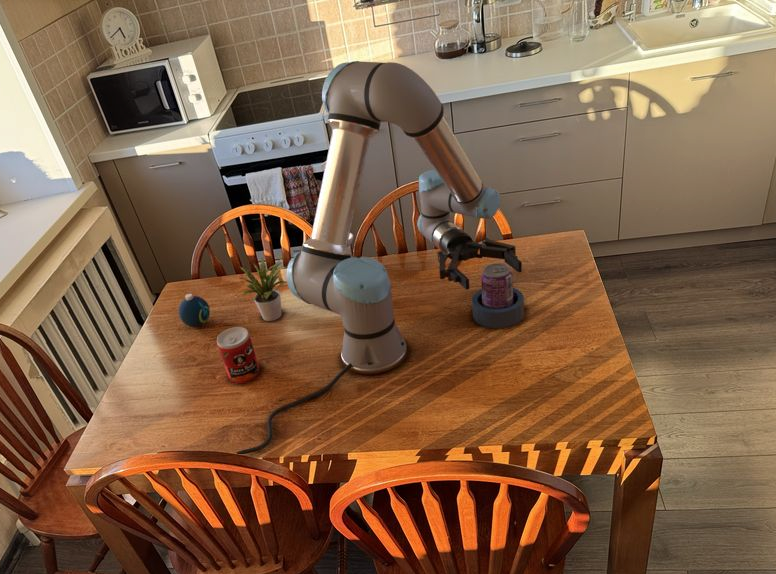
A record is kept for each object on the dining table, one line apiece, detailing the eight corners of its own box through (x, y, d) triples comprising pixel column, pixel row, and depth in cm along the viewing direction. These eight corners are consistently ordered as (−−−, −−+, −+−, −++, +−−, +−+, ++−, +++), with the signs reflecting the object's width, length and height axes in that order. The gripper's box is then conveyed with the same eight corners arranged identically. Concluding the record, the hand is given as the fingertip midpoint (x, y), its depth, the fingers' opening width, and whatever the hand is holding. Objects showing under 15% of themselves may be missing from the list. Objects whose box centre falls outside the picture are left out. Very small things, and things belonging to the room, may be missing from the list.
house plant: (308, 320, 169) (295, 265, 160) (259, 338, 166) (243, 283, 157) (290, 297, 180) (278, 244, 171) (244, 314, 178) (228, 261, 168)
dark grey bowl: (500, 334, 149) (500, 318, 146) (462, 316, 157) (461, 301, 155) (534, 311, 154) (534, 295, 151) (495, 295, 162) (495, 280, 160)
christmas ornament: (192, 336, 173) (180, 305, 167) (178, 325, 179) (167, 295, 173) (219, 322, 176) (208, 291, 170) (205, 312, 182) (194, 281, 177)
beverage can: (508, 303, 158) (508, 259, 151) (517, 318, 152) (516, 274, 145) (479, 307, 159) (477, 265, 152) (486, 323, 153) (484, 279, 146)
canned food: (231, 387, 151) (218, 350, 145) (226, 369, 158) (214, 332, 151) (262, 378, 152) (251, 340, 146) (256, 359, 159) (245, 322, 152)
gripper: (496, 240, 172) (541, 274, 155) (410, 268, 169) (446, 305, 152) (495, 214, 168) (541, 246, 151) (407, 242, 164) (444, 277, 147)
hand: (494, 275), depth 151 cm, fingers open, 13 cm apart
